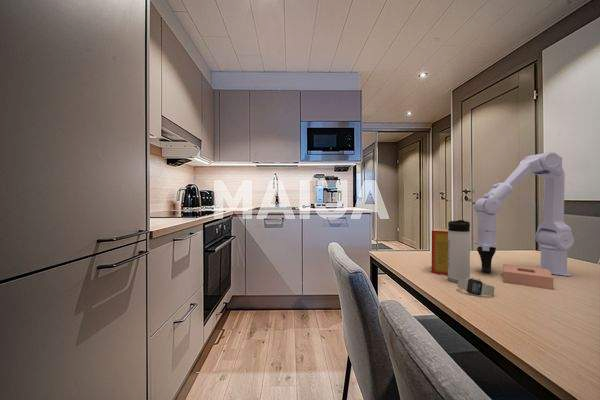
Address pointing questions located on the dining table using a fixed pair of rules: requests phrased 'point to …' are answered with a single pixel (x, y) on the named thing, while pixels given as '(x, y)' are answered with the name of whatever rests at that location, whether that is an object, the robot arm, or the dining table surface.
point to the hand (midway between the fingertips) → (486, 267)
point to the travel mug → (458, 250)
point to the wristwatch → (475, 287)
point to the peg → (486, 270)
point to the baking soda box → (440, 251)
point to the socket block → (527, 276)
